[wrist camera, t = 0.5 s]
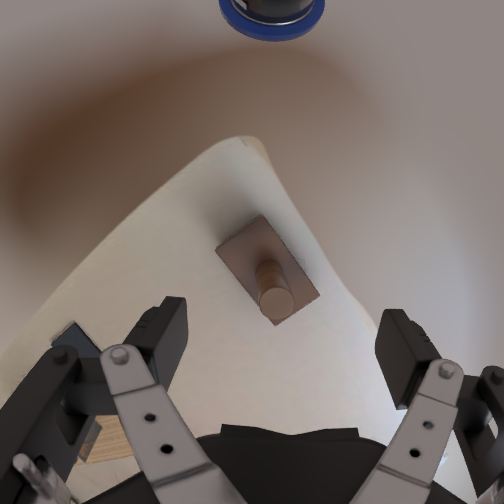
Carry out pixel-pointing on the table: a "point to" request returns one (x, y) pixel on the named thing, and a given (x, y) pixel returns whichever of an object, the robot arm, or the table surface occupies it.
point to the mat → (78, 342)
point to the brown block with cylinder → (267, 270)
